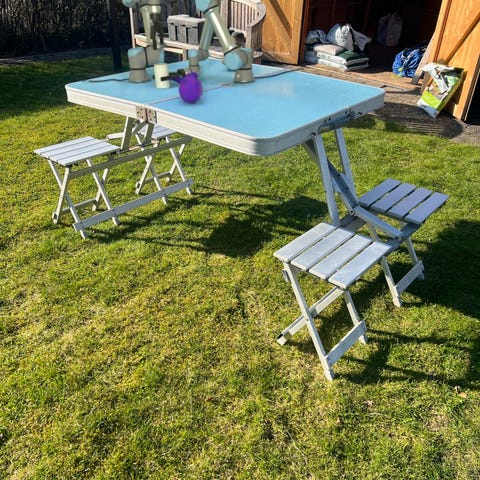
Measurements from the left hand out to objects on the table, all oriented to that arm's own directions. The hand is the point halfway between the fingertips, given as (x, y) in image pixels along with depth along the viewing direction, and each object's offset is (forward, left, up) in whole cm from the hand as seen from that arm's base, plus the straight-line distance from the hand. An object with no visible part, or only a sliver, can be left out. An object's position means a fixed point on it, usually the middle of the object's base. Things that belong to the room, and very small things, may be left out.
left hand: (158, 48), depth 307 cm
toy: (+9, -47, -25) cm, 54 cm away
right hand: (-4, -1, -19) cm, 19 cm away
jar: (0, +1, -25) cm, 25 cm away
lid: (0, 0, +3) cm, 3 cm away
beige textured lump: (+66, +44, -25) cm, 83 cm away
